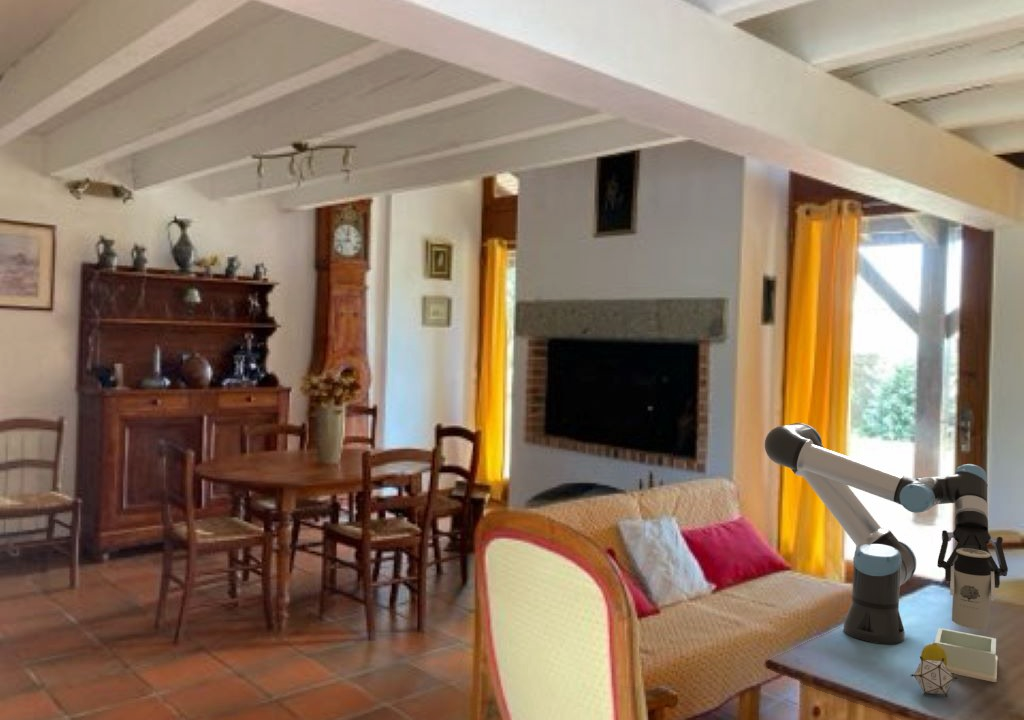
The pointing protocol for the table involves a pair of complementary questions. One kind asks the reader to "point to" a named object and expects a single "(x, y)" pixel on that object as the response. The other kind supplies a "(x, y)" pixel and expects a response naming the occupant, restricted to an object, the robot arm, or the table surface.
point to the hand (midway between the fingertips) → (972, 594)
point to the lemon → (934, 653)
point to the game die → (934, 676)
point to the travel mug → (971, 588)
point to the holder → (969, 654)
